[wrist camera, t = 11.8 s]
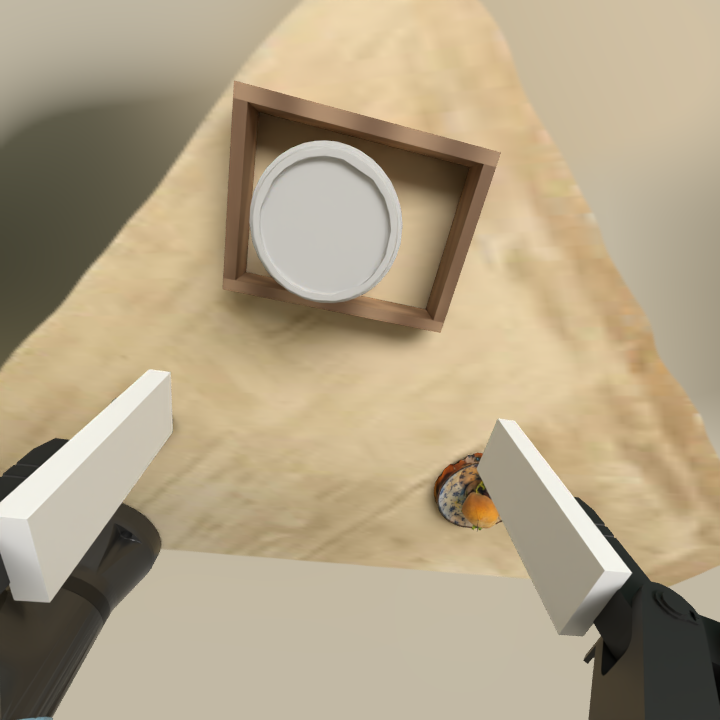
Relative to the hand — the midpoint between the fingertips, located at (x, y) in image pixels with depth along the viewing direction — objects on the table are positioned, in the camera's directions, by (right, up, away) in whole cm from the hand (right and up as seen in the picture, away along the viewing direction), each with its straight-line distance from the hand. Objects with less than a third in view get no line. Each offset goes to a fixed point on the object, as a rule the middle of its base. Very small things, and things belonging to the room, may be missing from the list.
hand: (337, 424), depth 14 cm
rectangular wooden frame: (0, +15, +18) cm, 23 cm away
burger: (+17, -14, +33) cm, 39 cm away
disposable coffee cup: (-2, +16, +18) cm, 24 cm away
